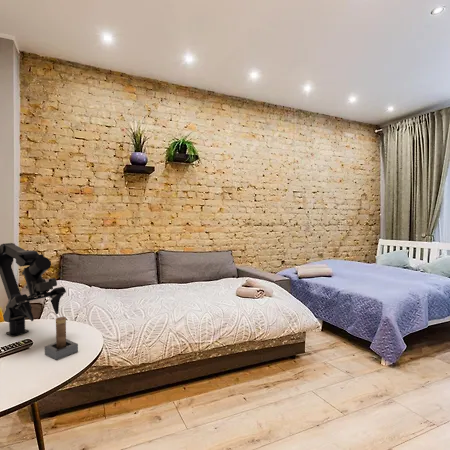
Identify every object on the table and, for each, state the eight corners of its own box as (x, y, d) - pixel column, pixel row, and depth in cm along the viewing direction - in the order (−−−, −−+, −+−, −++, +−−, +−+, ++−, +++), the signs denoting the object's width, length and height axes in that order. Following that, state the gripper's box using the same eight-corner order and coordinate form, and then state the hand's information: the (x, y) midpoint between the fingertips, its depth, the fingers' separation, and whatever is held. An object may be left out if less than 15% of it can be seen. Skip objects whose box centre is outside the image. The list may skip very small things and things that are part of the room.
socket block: (44, 354, 115) (44, 346, 115) (66, 346, 121) (65, 338, 121) (56, 360, 110) (56, 351, 110) (77, 351, 117) (77, 343, 117)
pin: (54, 354, 115) (53, 319, 114) (61, 350, 118) (60, 316, 117) (61, 355, 114) (60, 320, 113) (68, 351, 117) (67, 317, 116)
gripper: (16, 276, 113) (27, 317, 110) (66, 268, 129) (78, 304, 125) (5, 287, 119) (15, 327, 115) (54, 279, 135) (65, 313, 131)
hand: (45, 317), depth 121 cm, fingers open, 9 cm apart
